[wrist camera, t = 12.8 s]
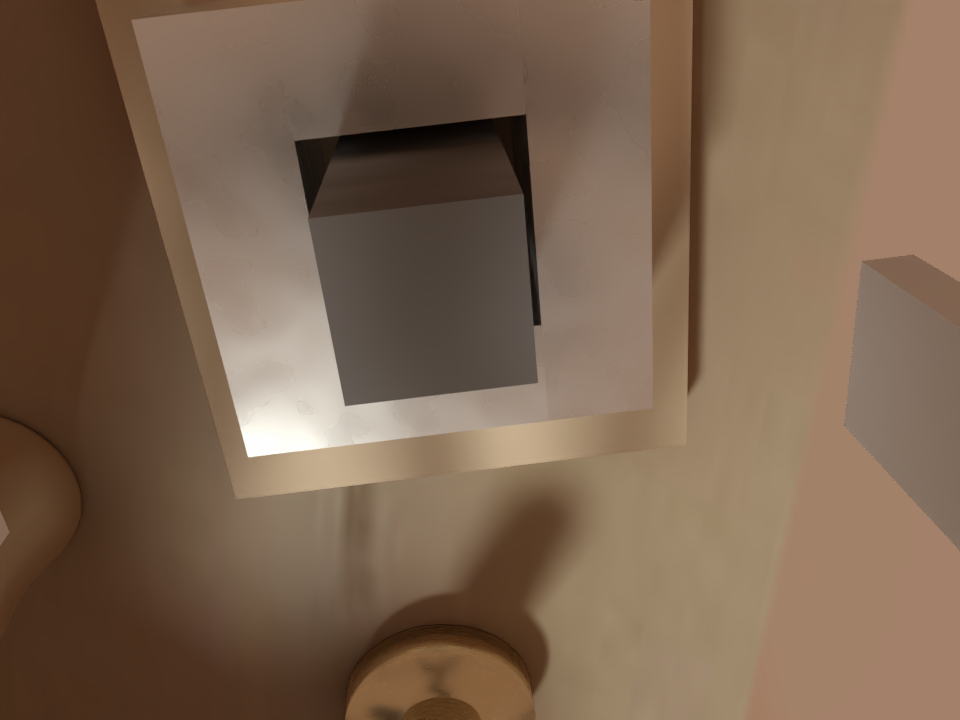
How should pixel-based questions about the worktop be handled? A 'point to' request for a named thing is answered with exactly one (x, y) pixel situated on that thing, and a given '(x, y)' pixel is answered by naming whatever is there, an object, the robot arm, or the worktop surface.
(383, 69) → the white square frame
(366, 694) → the stand
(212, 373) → the hub base
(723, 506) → the worktop surface
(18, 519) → the beer glass
